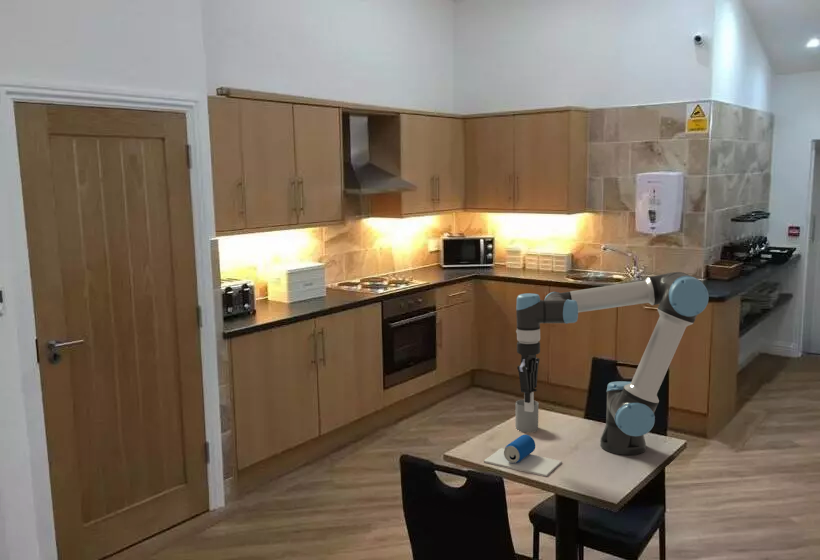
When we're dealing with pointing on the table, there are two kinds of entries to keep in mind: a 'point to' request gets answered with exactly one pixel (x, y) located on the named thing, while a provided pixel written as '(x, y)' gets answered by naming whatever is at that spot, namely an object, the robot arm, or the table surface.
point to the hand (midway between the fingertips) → (529, 410)
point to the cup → (526, 417)
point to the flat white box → (525, 463)
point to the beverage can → (519, 448)
